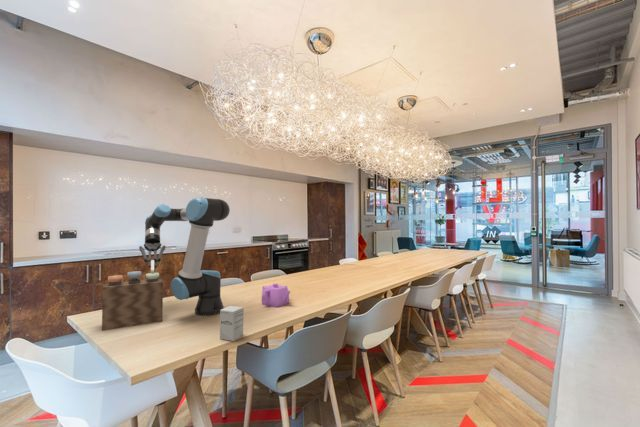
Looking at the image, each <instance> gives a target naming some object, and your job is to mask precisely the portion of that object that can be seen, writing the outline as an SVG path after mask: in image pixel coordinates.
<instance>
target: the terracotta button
mask: <svg viewBox="0 0 640 427" xmlns="http://www.w3.org/2000/svg"><path fill="white" fill-rule="evenodd" d="M123 278H124V277H123V274H122V275H121V274H120V275H118V274H115V275H109V276H107V283H109V282H120V281H121V282H124V279H123Z"/></svg>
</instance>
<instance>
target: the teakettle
mask: <svg viewBox="0 0 640 427" xmlns="http://www.w3.org/2000/svg"><path fill="white" fill-rule="evenodd" d="M290 293H291V291H290V290H289V288H288V286H287V285H280V284H279V283H273V284H270V285H268V286H267V285H263V286H262V291H261V304H262V305H263V306H267V307H272V308H279V307H283V306H286V305H288V304H289V303H290Z"/></svg>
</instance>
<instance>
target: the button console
mask: <svg viewBox="0 0 640 427" xmlns="http://www.w3.org/2000/svg"><path fill="white" fill-rule="evenodd" d="M163 290H164V281H163V278H157V279H143V280H141V278H137V280H132V278H128V281H120V282H107V283H105V284H104V285H103V286H102V299H101V300H102V305H101V306H102V308H101V309H102V310H101V312H102V313H101V315H102V316H101V317H102V318H101V331H107V330H116V329H121V328H122V329H123V328H127V327H132V326H133V327H134V326H140V325H146V324H147V325H148V324H154V323H159V322H163V314H164V312H163V311H164V310H163V306H164V305H163V303H164V302H163V301H164V300H163V299H164V298H163V297H164V296H163V292H164V291H163Z"/></svg>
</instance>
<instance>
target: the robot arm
mask: <svg viewBox="0 0 640 427" xmlns="http://www.w3.org/2000/svg"><path fill="white" fill-rule="evenodd" d="M230 212H231V211H230V205H229V204H228V203H227V202H226V201H225V200H223V199H219V198H209V197H193V198H192V199H191V200H190V201H188V202H187V205H186V207H185V208H172V207H171V208H170V205H166V204H164V203H160V204H158V205H157V206H156V207H155V208H154V211H153V212H152V214H151V215H149V216H147V217H146V218H145V222H144V224H145V228H144V229H145V230H144V232H145V234H144V245H142V246H141V245H140V246H138V250H139V251H140V252H141V256H142V258H143V261H144V263H147V266H148V268H150V273H155V268H157V265H158V262H161V260H162V256H163V254H164V251H166V245H162V243H161V227H162V225H163V223H165V222H188V223H189V224H190V230H189V236H188V240H187V244H186V245H187V246H186V251H185V255H184V259H183V260H184V261H183V265H182V269H181V270H179V271H178V275H177V277H174V278H173V279H172V280H171V283H170V288H171V292H172V295H173V296H174V298H176V299H177V300H188V299H191V298H196V297H197V298H198V299H197V303H196V306H195V308H194V313H195V315H198V316H212V315H218V314H220V310H221V309H224V308H225V307H224V304H223V301H222V297H221V285H222V284H221V279H222V277H221V272H220V271H218V270H210V269H206V270H204V269H202V270H201V267H202V263H203V258H204V255H205V254H204V253H205V249H206V245H207V244H206V243H207V241H208V240H207V239H208V235H209V230H210V229H211V228H212V227H213V226H214V222H216V221H217V222H218V221H223V220H225V219H227V217H229V214H230ZM145 250H146V251H148V256H147V254H146V251H145ZM159 250H160V251H159ZM158 251H159V254H158V255H157V252H158ZM152 252H153V259H152Z"/></svg>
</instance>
